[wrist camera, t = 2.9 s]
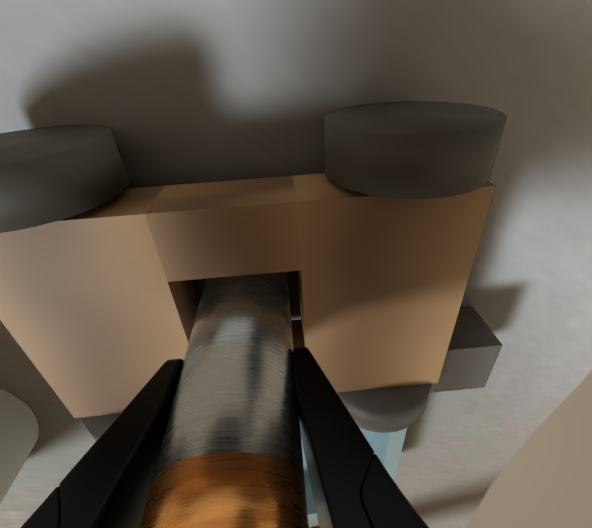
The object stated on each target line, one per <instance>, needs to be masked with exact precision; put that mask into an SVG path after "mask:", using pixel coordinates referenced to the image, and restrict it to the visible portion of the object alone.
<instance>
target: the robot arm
mask: <svg viewBox="0 0 592 528" xmlns="http://www.w3.org/2000/svg"><path fill="white" fill-rule="evenodd" d="M293 360H294V372H295V384H296V395H297V403H298V410H299V419H300V431H301V439H302V444H303V449H304V454H305V459H306V463H307V468H308V473H309V478H310V483H311V488H312V493H313V498H314V503H315V508H316V513H317V518H318V523H319V527H320V528H429V527H428V526H427V524H426V523H425V522H424V521H423V519H422V518H421V517H420V516H419V514H418V513H417V512H416V510H415V509H414V508H413V506H412V505H411V504H410V503H409V501H408V500H407V499H406V497H405V496H404V495H403V493H402V492H401V491H400V489H399V488H398V486H397V485H396V483H395V482H394V480H393V479H392V477H391V476H390V474H389V473H388V471H387V470H386V469H385V467H384V465H383V464H382V462H381V461H380V459H379V458H378V456H377V455H376V454H374V450H373V449H372V447H371V445H370V444H369V442H368V441H367V439H366V438H365V436H364V434H363V433H362V431H361V430H360V428H359V427H358V425H357V424H356V422H355V420H354V419H353V417H352V416H351V414H350V413H349V411H348V409H347V408H346V406H345V405H344V403H343V402H342V400H341V399H340V397H339V395H338V394H337V392H336V391H335V389H334V388H333V386H332V384H331V383H330V381H329V380H328V378H327V377H326V375H325V374H324V372H323V370H322V369H321V367H320V366H319V364H318V363H317V361H316V359H315V358H314V356H313V355H312V353H311V352H310V350H309V349H308V348H307V347H298V348H294V349H293ZM183 362H184V360H183V359H170V360H167V361H166V362H165V363H164V364H163V365H162V366H161V367H160V368H159V370H158V371H157V372H156V373H155V374H154V375H153V376H152V378H151V379H150V380H149V381H148V382H147V383H146V385H145V386H144V387H143V388H142V389H141V390H140V391H139V393H138V394H137V395H136V396H135V397H134V398H133V400H132V401H131V402H130V403H129V404H128V405H127V406H126V408H125V409H124V410H123V411H122V412H121V413H120V415H119V416H118V417H117V418H116V419H115V420H114V422H113V423H112V424H111V425H110V426H109V427H108V428H107V430H106V431H105V432H104V433H103V434H102V435H101V437H100V438H99V439H98V440H97V441H96V442H95V443H94V445H93V446H92V447H91V448H90V449H89V450H88V452H87V453H86V454H85V455H84V456H83V457H82V458H81V460H80V461H79V462H78V463H77V464H76V465H75V467H74V468H73V469H72V470H71V471H70V472H69V473H68V475H67V476H66V477H65V478H64V479H63V480H62V482H61V483H60V485H59V487H56V488H55V489H54V491H53V492H52V493H51V494H50V495H49V496H48V498H47V499H46V500H45V501H44V502H43V503H42V504H41V506H40V507H39V508H38V509H37V510H36V511H35V512H34V513H33V514H32V516H31V517H30V518H29V519H28V520H27V521H26V522H25V523H24V525H23V526H22V527H21V528H139V527H140V523H141V520H142V516H143V512H144V508H145V505H146V501H147V497H148V493H149V490H150V486H151V482H152V478H153V475H154V471H155V467H156V463H157V460H158V456H159V452H160V448H161V445H162V441H163V437H164V433H165V430H166V426H167V422H168V419H169V415H170V411H171V407H172V404H173V400H174V396H175V392H176V389H177V385H178V381H179V377H180V374H181V370H182V366H183Z"/></svg>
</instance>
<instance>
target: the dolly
mask: <svg viewBox="0 0 592 528" xmlns="http://www.w3.org/2000/svg"><path fill="white" fill-rule="evenodd" d="M505 121H506V115H505V114H503V113H502V112H500V111H498V110H494V109H491V108H487V107H482V106H476V105H470V104H461V103H448V102H388V103H375V104H366V105H359V106H353V107H348V108H343V109H339V110H336V111H333V112H331V113H329V114H327V115H326V116H325V117H324V171H325V173H320V174H307V175H295V176H282V177H269V178H256V179H243V180H230V181H218V182H205V183H192V184H179V185H166V186H154V187H141V188H128V189H125V188H126V187H127V185H128V183H129V180H128V177H127V174H126V171H125V168H124V166H123V163H122V160H121V157H120V154H119V151H118V148H117V145H116V143H115V140H114V137H113V134H112V131H111V129H110V128H108V127H104V126H96V125H70V126H56V127H45V128H36V129H28V130H21V131H14V132H7V133H1V134H0V320H1V322H2V323H3V324H4V326H5V327H6V328H7V330H8V331H9V332H10V334H11V335H12V336H13V338H14V339H15V340H16V342H17V343H18V344H19V346H20V347H21V348H22V350H23V351H24V352H25V353H26V355H27V356H28V357H29V359H30V360H31V361H32V363H33V364H34V365H35V367H36V368H37V369H38V371H39V372H40V373H41V375H42V376H43V377H44V379H45V380H46V381H47V382H48V384H49V385H50V386H51V388H52V389H53V390H54V392H55V393H56V394H57V396H58V397H59V398H60V400H61V401H62V402H63V404H64V405H65V406H66V408H67V409H68V410H69V412H70V413H71V414H72V415H73V417H74V418H80V417H82V419H83V422H84V424H85V426H86V428H87V429H88V430H89V432H90V433H91V435H92V436H93V437H94V439H95V440H96V441H97V440H98V439H99V438H100V437H101V435H102V434H103V433H104V432H105V431H106V430H107V428H108V427H109V426H110V425H111V424H112V423H113V422H114V420H115V419H116V418H117V417H118V416H119V415H120V413H121V412H122V411H123V410H124V409H125V408H126V406H127V405H128V404H129V403H130V402H131V401H132V400H133V398H134V397H135V396H136V395H137V394H138V393H139V391H140V390H141V389H142V388H143V387H144V386H145V385H146V383H147V382H148V381H149V380H150V379H151V378H152V376H153V375H154V374H155V373H156V372H157V371H158V370H159V368H160V367H161V366H162V365H163V364H164V363H165V362H166V361H167V360H170V359H183V360H184V359H185V355H186V351H187V347H188V344H189V340H190V336H191V333H192V329H193V325H194V321H195V318H196V314H197V310H198V306H199V301H198V297H197V294H196V290H195V287H194V283H193V280H195V279H206V278H218V277H230V276H241V275H253V274H264V273H276V272H287V271H298V275H299V291H300V307H301V320H291V325H292V337H293V349H294V348H298V347H307V348H308V349H309V350H310V352H311V353H312V355H313V356H314V358H315V359H316V361H317V363H318V364H319V366H320V367H321V369H322V370H323V372H324V374H325V375H326V377H327V378H328V380H329V381H330V383H331V384H332V386H333V388H334V389H335V391H336V392H337V394H338V395H339V397H340V399H341V400H342V402H343V403H344V405H345V406H346V408H347V409H348V411H349V413H350V414H351V416H352V417H353V419H354V420H355V422H356V424H357V425H358V427H360V428H362V429H365V430H368V431H372V432H379V433H391V432H397V431H400V430H403V429H405V428H407V427H410V426H411V425H412V424H414V423H415V422H416V421H417V420H418V419H419V418H420V417H421V415H422V414H423V412H424V410H425V407H426V404H427V400H428V396H429V393H431V392H441V391H451V390H461V389H472V388H482V387H485V385H486V383H487V380H488V378H489V376H490V373H491V371H492V369H493V366H494V364H495V362H496V359H497V357H498V355H499V352H500V350H501V347H502V344H501V343H500V341H499V340H498V339H497V338H496V336H495V335H494V334H493V332H492V331H491V330H490V329H489V327H488V326H487V325H486V324H485V322H484V321H483V320H482V318H481V317H480V316H479V315H478V313H477V312H476V311H475V310H474V308H473V307H465V308H460V306H461V303H462V299H463V296H464V293H465V289H466V286H467V282H468V279H469V276H470V272H471V269H472V266H473V262H474V259H475V255H476V252H477V249H478V245H479V242H480V238H481V235H482V232H483V228H484V225H485V221H486V218H487V215H488V211H489V208H490V205H491V201H492V198H493V194H494V191H495V188H496V185H494V184H492V183H491V182H489V179H490V175H491V171H492V168H493V164H494V161H495V157H496V154H497V150H498V146H499V143H500V139H501V136H502V132H503V129H504V125H505Z"/></svg>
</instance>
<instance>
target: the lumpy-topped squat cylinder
mask: <svg viewBox="0 0 592 528" xmlns="http://www.w3.org/2000/svg"><path fill="white" fill-rule="evenodd" d="M38 436H39V428H38V423H37V420H36V417H35V415H34V413H33V412H32V410H31V409H30V408H29V407H28V406H27V405H26V404H25V403H24V402H23V401H21V400H20V399H18V398H17V397H15V396H14V395H12V394H10V393H9V392H7V391H5V390H3V389H0V504H1V502H2V500H3V498H4V497H5V495H6V493H7V492H8V490H9V488H10V487H11V485H12V483H13V481H14V480H15V478H16V476H17V475H18V473H19V471H20V469H21V468H22V466H23V464H24V463H25V461H26V459H27V457H28V456H29V454H30V452H31V451H32V449H33V447H34V445H35V444H36V442H37V440H38Z"/></svg>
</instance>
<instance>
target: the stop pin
mask: <svg viewBox="0 0 592 528" xmlns="http://www.w3.org/2000/svg"><path fill="white" fill-rule="evenodd" d="M139 528H309V526H308V514H307V502H306V490H305V478H304V467H303V455H302V443H301V431H300V419H299V410H298V403H297V395H296V384H295V372H294V360H293V337H292V325H291V313H290V301H289V290H288V278H287V272H276V273H264V274H253V275H241V276H230V277H218V278H206V280H205V284H204V288H203V291H202V295H201V299H200V303H199V306H198V310H197V314H196V318H195V321H194V325H193V329H192V333H191V336H190V340H189V344H188V347H187V351H186V355H185V359H184V362H183V366H182V370H181V374H180V377H179V381H178V385H177V389H176V392H175V396H174V400H173V404H172V407H171V411H170V415H169V419H168V422H167V426H166V430H165V433H164V437H163V441H162V445H161V448H160V452H159V456H158V460H157V463H156V467H155V471H154V475H153V478H152V482H151V486H150V490H149V493H148V497H147V501H146V505H145V508H144V512H143V516H142V520H141V523H140V527H139Z"/></svg>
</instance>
